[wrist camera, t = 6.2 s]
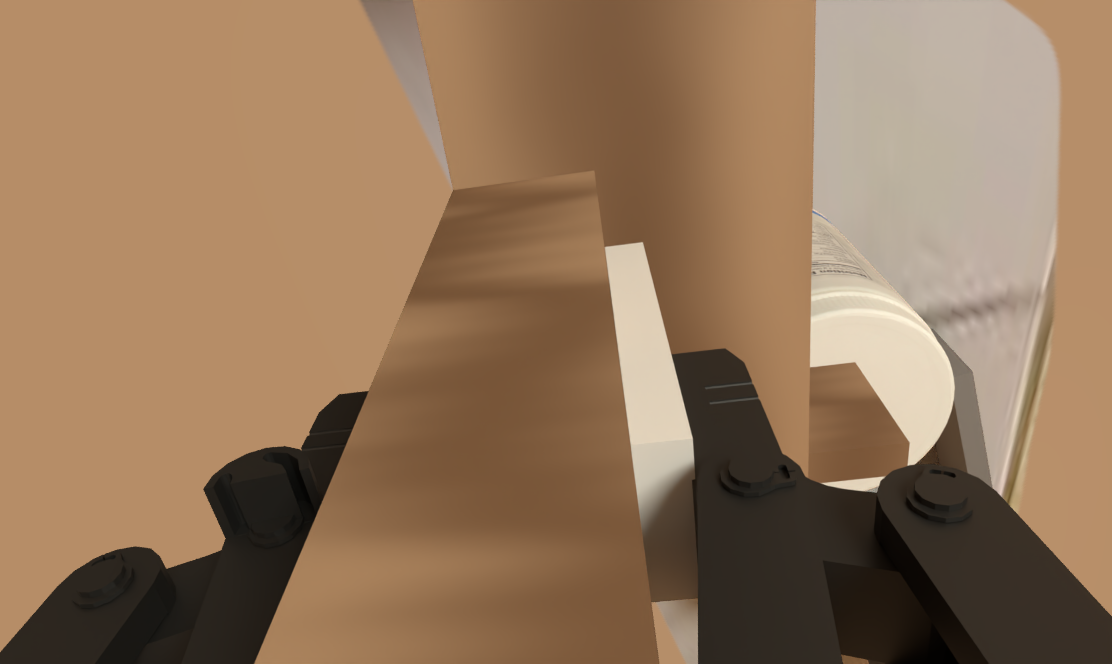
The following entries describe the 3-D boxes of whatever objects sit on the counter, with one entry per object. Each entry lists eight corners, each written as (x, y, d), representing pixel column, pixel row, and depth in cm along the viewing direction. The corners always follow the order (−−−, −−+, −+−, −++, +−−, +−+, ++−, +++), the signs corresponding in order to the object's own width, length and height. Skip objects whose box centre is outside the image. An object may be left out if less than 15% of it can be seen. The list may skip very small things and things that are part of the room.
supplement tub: (848, 325, 45) (963, 483, 32) (692, 359, 47) (742, 524, 34) (834, 171, 41) (960, 283, 28) (662, 213, 42) (706, 339, 29)
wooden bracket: (528, 427, 24) (478, 1163, 10) (439, -27, 18) (-52, 147, 4) (853, 390, 23) (1320, 1127, 9) (877, -97, 17) (2475, -234, 3)
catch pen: (657, 417, 49) (667, 465, 44) (932, 328, 45) (972, 371, 41) (717, 563, 55) (731, 619, 50) (964, 494, 51) (1002, 547, 47)
